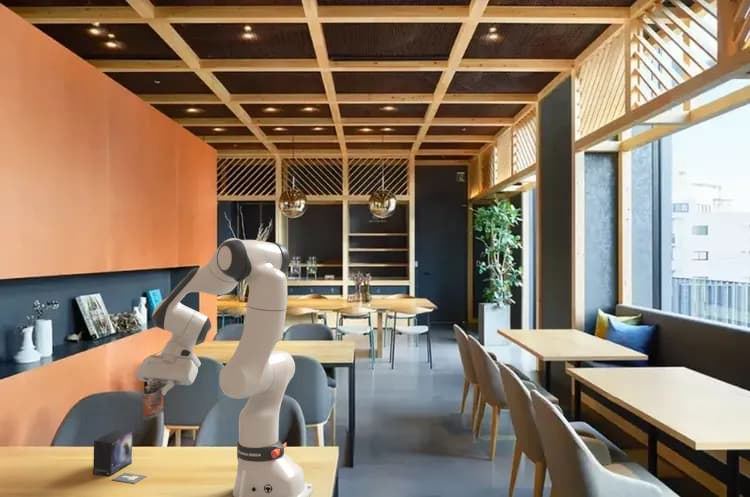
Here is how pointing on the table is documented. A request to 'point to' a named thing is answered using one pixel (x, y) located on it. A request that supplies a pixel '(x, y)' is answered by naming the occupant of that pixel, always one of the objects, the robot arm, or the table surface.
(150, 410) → the lighter
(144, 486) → the table surface
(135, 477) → the card
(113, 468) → the small box
